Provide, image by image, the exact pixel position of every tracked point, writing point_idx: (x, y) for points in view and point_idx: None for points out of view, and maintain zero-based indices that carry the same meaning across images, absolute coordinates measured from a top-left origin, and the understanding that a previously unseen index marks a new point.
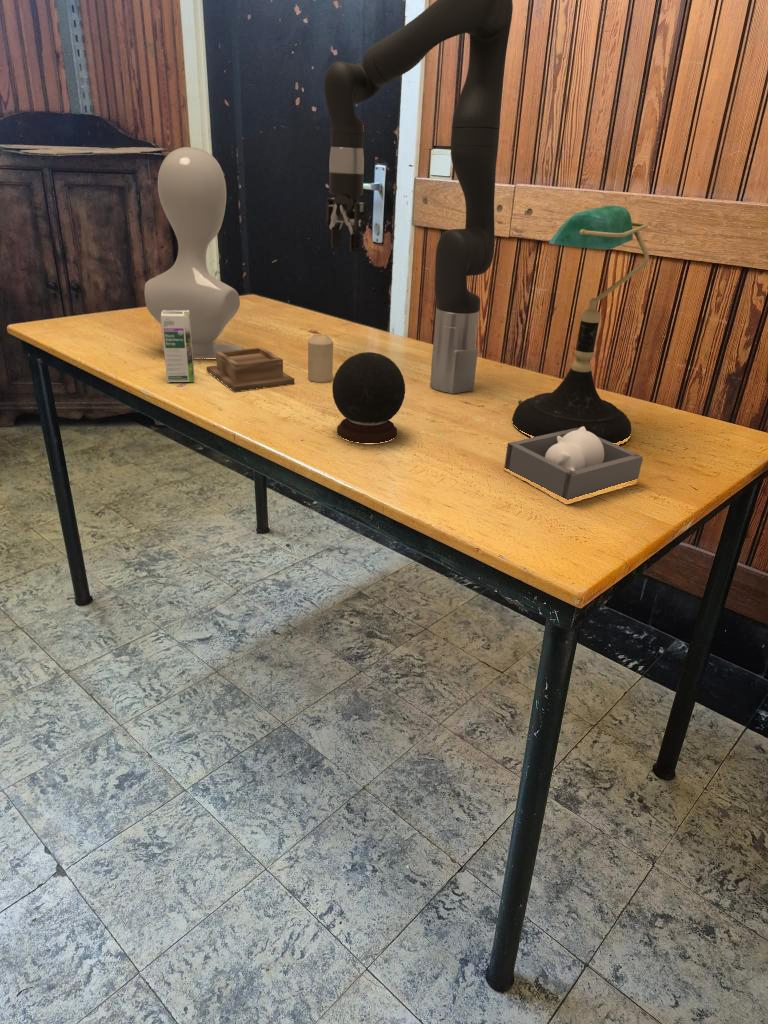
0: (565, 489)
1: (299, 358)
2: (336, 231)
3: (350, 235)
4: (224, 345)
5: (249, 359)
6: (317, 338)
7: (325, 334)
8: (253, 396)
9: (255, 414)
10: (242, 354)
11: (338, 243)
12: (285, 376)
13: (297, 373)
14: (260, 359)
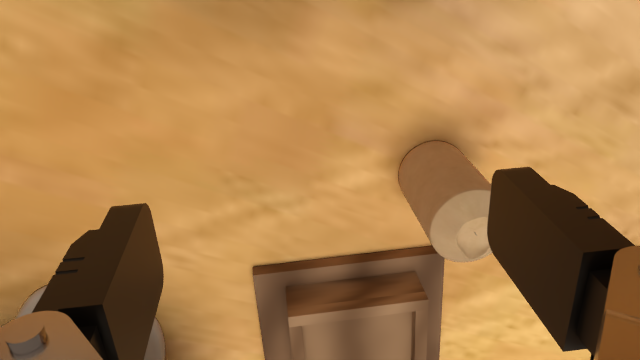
0: None
1: (208, 154)
2: (122, 352)
3: (571, 341)
4: None
5: (352, 350)
6: (488, 250)
7: (474, 219)
8: (475, 339)
9: (570, 357)
10: (305, 358)
11: (144, 240)
12: (417, 265)
13: (358, 210)
14: (362, 329)
